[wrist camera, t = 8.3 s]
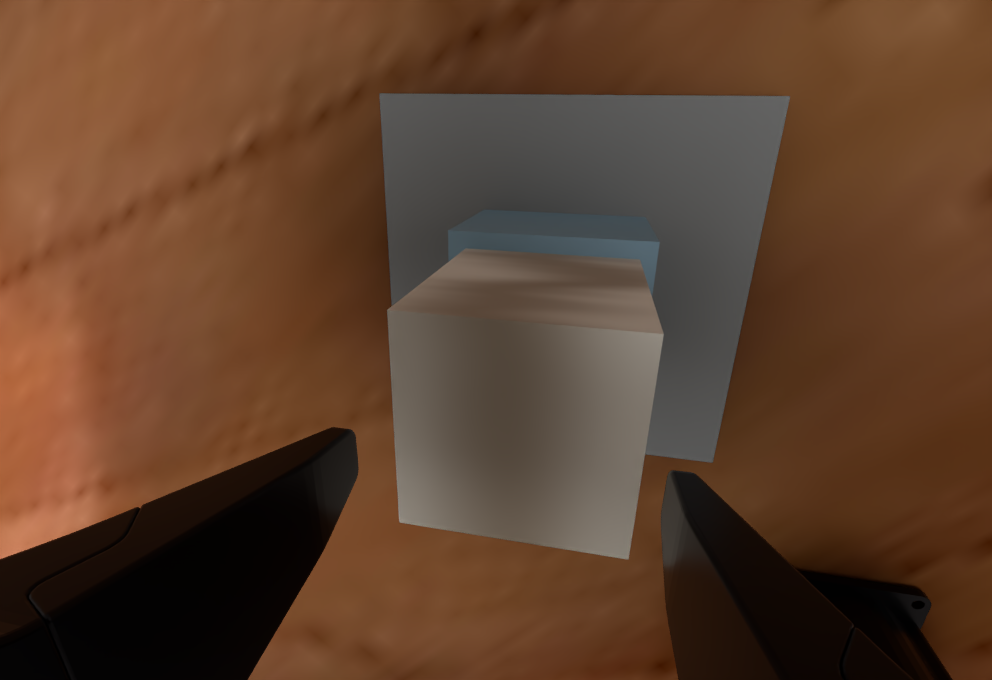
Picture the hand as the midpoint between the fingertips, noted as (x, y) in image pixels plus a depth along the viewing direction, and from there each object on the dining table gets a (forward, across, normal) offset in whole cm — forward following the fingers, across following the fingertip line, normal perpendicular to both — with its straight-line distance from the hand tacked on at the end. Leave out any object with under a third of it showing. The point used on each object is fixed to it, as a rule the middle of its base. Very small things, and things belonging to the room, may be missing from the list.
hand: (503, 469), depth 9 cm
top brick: (+7, 0, 0) cm, 7 cm away
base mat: (+13, 0, 0) cm, 13 cm away
